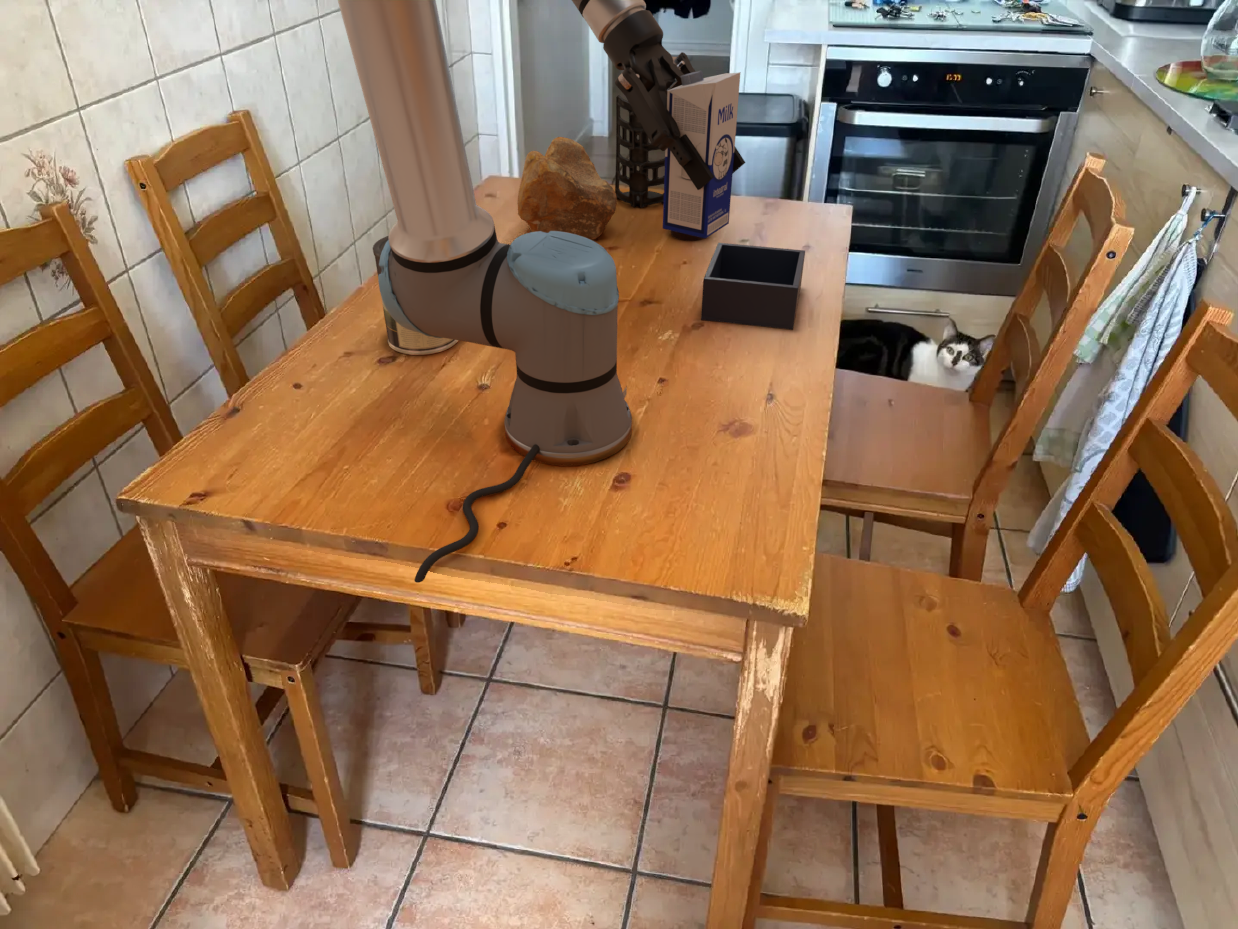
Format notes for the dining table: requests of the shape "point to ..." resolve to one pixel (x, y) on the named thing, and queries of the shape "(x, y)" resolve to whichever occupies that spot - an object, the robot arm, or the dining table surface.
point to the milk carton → (702, 153)
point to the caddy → (753, 285)
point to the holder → (635, 161)
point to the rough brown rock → (564, 192)
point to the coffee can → (403, 337)
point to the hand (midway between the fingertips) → (721, 175)
